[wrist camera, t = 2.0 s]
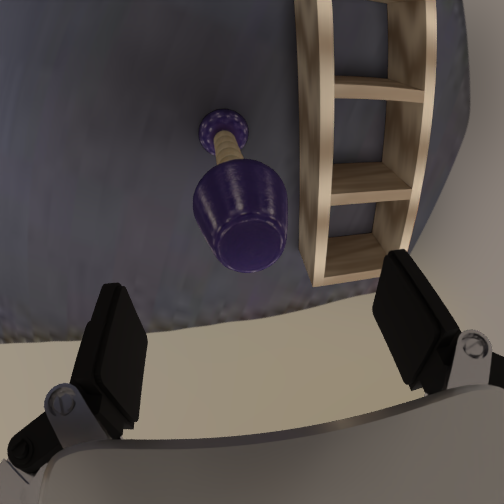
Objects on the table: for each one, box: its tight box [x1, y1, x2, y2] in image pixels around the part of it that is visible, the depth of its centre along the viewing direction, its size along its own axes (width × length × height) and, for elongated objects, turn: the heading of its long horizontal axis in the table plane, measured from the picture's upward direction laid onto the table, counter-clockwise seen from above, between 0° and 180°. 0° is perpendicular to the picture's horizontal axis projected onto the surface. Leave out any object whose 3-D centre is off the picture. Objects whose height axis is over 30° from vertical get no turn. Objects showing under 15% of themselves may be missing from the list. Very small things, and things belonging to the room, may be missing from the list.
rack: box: [294, 0, 437, 287], centre depth 24 cm, size 26×10×6 cm, turn 3°
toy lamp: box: [193, 109, 288, 273], centre depth 19 cm, size 5×5×17 cm
